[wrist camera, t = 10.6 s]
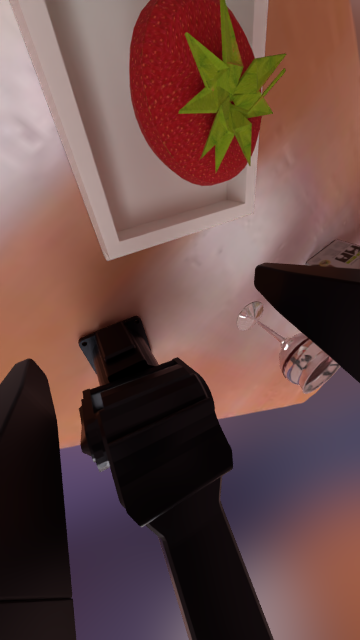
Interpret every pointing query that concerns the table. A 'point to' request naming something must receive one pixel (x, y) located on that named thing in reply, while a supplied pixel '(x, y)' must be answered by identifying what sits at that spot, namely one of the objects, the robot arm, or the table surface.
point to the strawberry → (198, 88)
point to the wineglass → (294, 353)
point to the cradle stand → (123, 123)
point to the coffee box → (338, 256)
